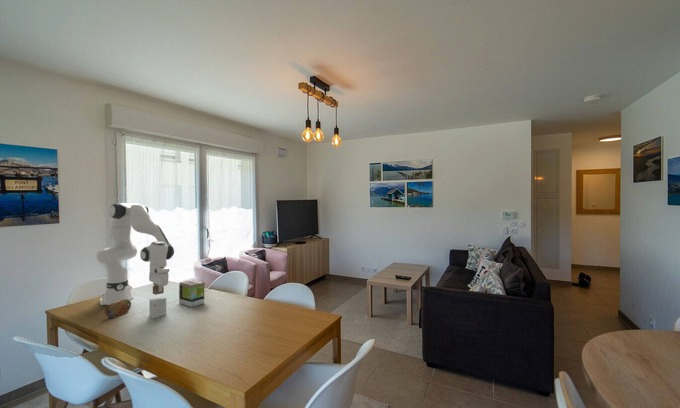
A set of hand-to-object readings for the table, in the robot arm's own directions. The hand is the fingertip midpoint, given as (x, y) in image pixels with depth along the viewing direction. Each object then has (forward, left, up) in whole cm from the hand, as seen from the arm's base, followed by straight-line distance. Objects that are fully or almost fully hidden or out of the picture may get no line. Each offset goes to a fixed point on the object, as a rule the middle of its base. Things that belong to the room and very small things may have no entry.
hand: (158, 290), depth 176 cm
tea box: (-6, +23, -15) cm, 28 cm away
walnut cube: (0, 0, -2) cm, 2 cm away
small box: (0, 0, -15) cm, 16 cm away
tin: (-20, -15, -15) cm, 29 cm away
